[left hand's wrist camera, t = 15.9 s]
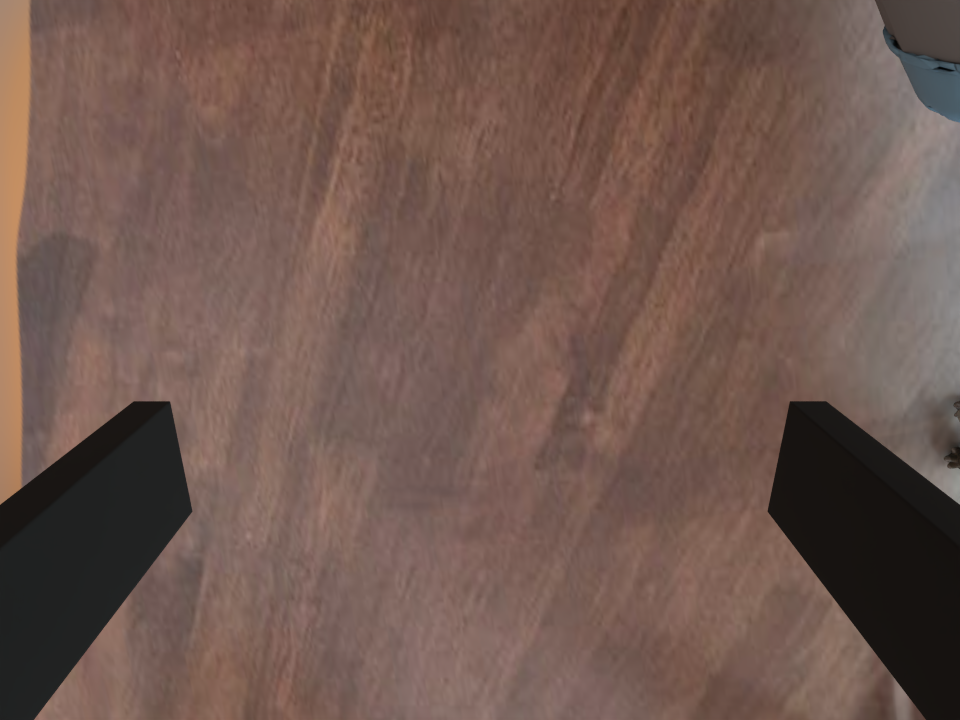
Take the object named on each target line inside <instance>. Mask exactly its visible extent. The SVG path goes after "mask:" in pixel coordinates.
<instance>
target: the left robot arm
mask: <svg viewBox="0 0 960 720" xmlns="http://www.w3.org/2000/svg"><path fill="white" fill-rule="evenodd" d="M875 1H876V4H877V6H878V9H879V11H880V14H881V17H882V19H883V22H884V24H885V27H884V29H883V35H884V38H885V41H886V44H887V45H888V47H889V49H890V50H891V51H892V52H893V53H894V54H895V55H896V56H898V57H899V58H900V60H901V63H902V65H903V67H904V69H905V71H906V73H907V76H908V78H909V80H910V82H911V84H912V86H913V89H914V91H915V93H916V95H917V96H918V98H919V99H920V101H921V102H922V103H923V104H924V105H925V106H926V107H927V108H928V109H930V110H932V111H934V112H937V113H939V114H940V115H942V116H945V117H946V118H948V119H949V120H952V121H956V122H960V0H875ZM191 513H192V507H191V502H190V497H189V492H188V488H187V483H186V478H185V473H184V468H183V463H182V458H181V453H180V448H179V443H178V438H177V434H176V429H175V424H174V419H173V414H172V409H171V404H170V401H134V402H132V403H131V404H130V405H129V406H127V407H126V408H125V409H123V410H122V411H121V412H120V413H118V414H117V415H116V416H114V417H113V418H112V419H111V420H109V421H108V422H107V423H105V424H104V425H103V426H101V427H100V428H99V429H98V430H96V431H95V432H94V433H92V434H91V435H90V436H89V437H87V438H86V439H85V440H83V441H82V442H81V443H79V444H78V445H77V446H76V447H74V448H73V449H72V450H70V451H69V452H68V453H67V454H65V455H64V456H63V457H61V458H60V459H59V460H58V461H56V462H55V463H54V464H52V465H51V466H50V467H48V468H47V469H46V470H45V471H43V472H42V473H41V474H39V475H38V476H37V477H36V478H34V479H33V480H32V481H30V482H29V483H28V484H27V485H25V486H24V487H23V488H21V489H20V490H19V491H18V492H16V493H15V494H14V495H12V496H11V497H10V498H8V499H7V500H6V501H5V502H3V503H2V504H1V505H0V720H34V719H35V717H36V716H37V715H38V714H39V712H40V711H41V710H42V708H43V707H44V706H45V704H46V703H47V702H48V700H49V699H50V698H51V696H52V695H53V694H54V693H55V691H56V690H57V689H58V687H59V686H60V685H61V683H62V682H63V681H64V679H65V678H66V677H67V675H68V674H69V673H70V672H71V670H72V669H73V668H74V666H75V665H76V664H77V662H78V661H79V660H80V658H81V657H82V656H83V654H84V653H85V652H86V651H87V649H88V648H89V647H90V645H91V644H92V643H93V641H94V640H95V639H96V637H97V636H98V635H99V633H100V632H101V631H102V629H103V628H104V627H105V626H106V624H107V623H108V622H109V620H110V619H111V618H112V616H113V615H114V614H115V612H116V611H117V610H118V608H119V607H120V606H121V605H122V603H123V602H124V601H125V599H126V598H127V597H128V595H129V594H130V593H131V591H132V590H133V589H134V587H135V586H136V585H137V584H138V582H139V581H140V580H141V578H142V577H143V576H144V574H145V573H146V572H147V570H148V569H149V568H150V566H151V565H152V564H153V562H154V561H155V560H156V559H157V557H158V556H159V555H160V553H161V552H162V551H163V549H164V548H165V547H166V545H167V544H168V543H169V541H170V540H171V539H172V538H173V536H174V535H175V534H176V532H177V531H178V530H179V528H180V527H181V526H182V524H183V523H184V522H185V520H186V519H187V518H188V517H189V515H190V514H191ZM768 513H769V514H770V515H771V517H772V518H773V519H774V520H775V522H776V523H777V524H778V526H779V527H780V528H781V530H782V531H783V532H784V534H785V535H786V536H787V538H788V539H789V540H790V541H791V543H792V544H793V545H794V547H795V548H796V549H797V551H798V552H799V553H800V555H801V556H802V557H803V559H804V560H805V561H806V562H807V564H808V565H809V566H810V568H811V569H812V570H813V572H814V573H815V574H816V576H817V577H818V578H819V580H820V581H821V582H822V584H823V585H824V586H825V587H826V589H827V590H828V591H829V593H830V594H831V595H832V597H833V598H834V599H835V601H836V602H837V603H838V605H839V606H840V607H841V608H842V610H843V611H844V612H845V614H846V615H847V616H848V618H849V619H850V620H851V622H852V623H853V624H854V626H855V627H856V628H857V629H858V631H859V632H860V633H861V635H862V636H863V637H864V639H865V640H866V641H867V643H868V644H869V645H870V647H871V648H872V649H873V651H874V652H875V653H876V654H877V656H878V657H879V658H880V660H881V661H882V662H883V664H884V665H885V666H886V668H887V669H888V670H889V672H890V673H891V674H892V675H893V677H894V678H895V679H896V681H897V682H898V683H899V685H900V686H901V687H902V689H903V690H904V691H905V693H906V694H907V695H908V696H909V698H910V699H911V700H912V702H913V703H914V704H915V706H916V707H917V708H918V710H919V711H920V712H921V714H922V715H923V716H924V717H925V719H926V720H960V505H959V504H958V503H957V502H955V501H954V500H953V499H952V498H950V497H949V496H948V495H946V494H945V493H944V492H943V491H941V490H940V489H939V488H937V487H936V486H935V485H933V484H932V483H931V482H930V481H928V480H927V479H926V478H924V477H923V476H922V475H921V474H919V473H918V472H917V471H915V470H914V469H913V468H912V467H910V466H909V465H908V464H906V463H905V462H904V461H902V460H901V459H900V458H899V457H897V456H896V455H895V454H893V453H892V452H891V451H890V450H888V449H887V448H886V447H884V446H883V445H882V444H881V443H879V442H878V441H877V440H875V439H874V438H873V437H871V436H870V435H869V434H868V433H866V432H865V431H864V430H862V429H861V428H860V427H859V426H857V425H856V424H855V423H853V422H852V421H851V420H849V419H848V418H847V417H846V416H844V415H843V414H842V413H840V412H839V411H838V410H837V409H835V408H834V407H833V406H831V405H830V404H829V403H828V402H826V401H790V404H789V409H788V414H787V419H786V424H785V429H784V434H783V438H782V443H781V448H780V453H779V458H778V463H777V468H776V473H775V478H774V483H773V488H772V492H771V497H770V502H769V507H768Z"/></svg>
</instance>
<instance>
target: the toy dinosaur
mask: <svg viewBox="0 0 960 720" xmlns="http://www.w3.org/2000/svg"><path fill="white" fill-rule="evenodd" d="M954 407H956V408H957V409H958V411H957V412H956V413H955V414H954V416H955V417H958V419H959V421H960V401H959V402H956V403H955V404H954ZM951 450H952V454H950V455H948V456H945V457H944V460H946V461H949V464H948V466H947V467H948V468H950V469H951V468H959V469H960V448H957V447H953V448H951Z"/></svg>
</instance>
